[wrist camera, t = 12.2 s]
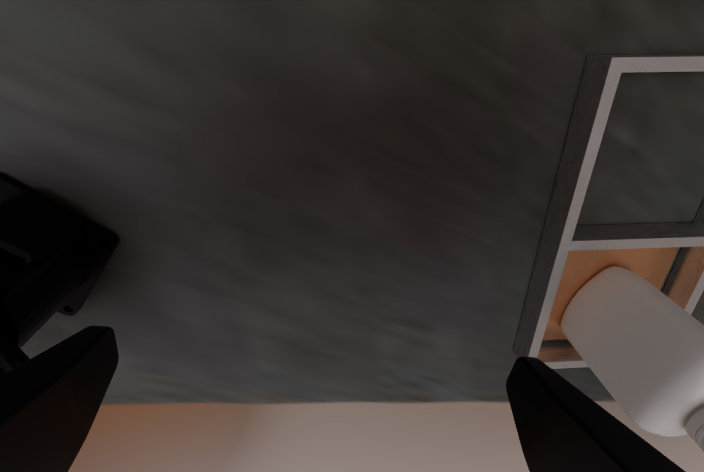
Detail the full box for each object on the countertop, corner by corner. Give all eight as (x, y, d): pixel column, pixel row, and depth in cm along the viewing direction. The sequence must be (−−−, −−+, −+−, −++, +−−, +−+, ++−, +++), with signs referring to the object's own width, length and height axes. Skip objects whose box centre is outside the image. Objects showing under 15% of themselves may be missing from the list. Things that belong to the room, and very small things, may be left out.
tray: (646, 343, 27) (666, 363, 26) (513, 349, 27) (524, 369, 25) (781, 53, 19) (824, 54, 17) (587, 55, 18) (612, 57, 17)
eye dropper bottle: (648, 298, 25) (883, 494, 14) (568, 341, 26) (727, 548, 16) (625, 253, 23) (873, 439, 13) (541, 302, 25) (700, 505, 14)
